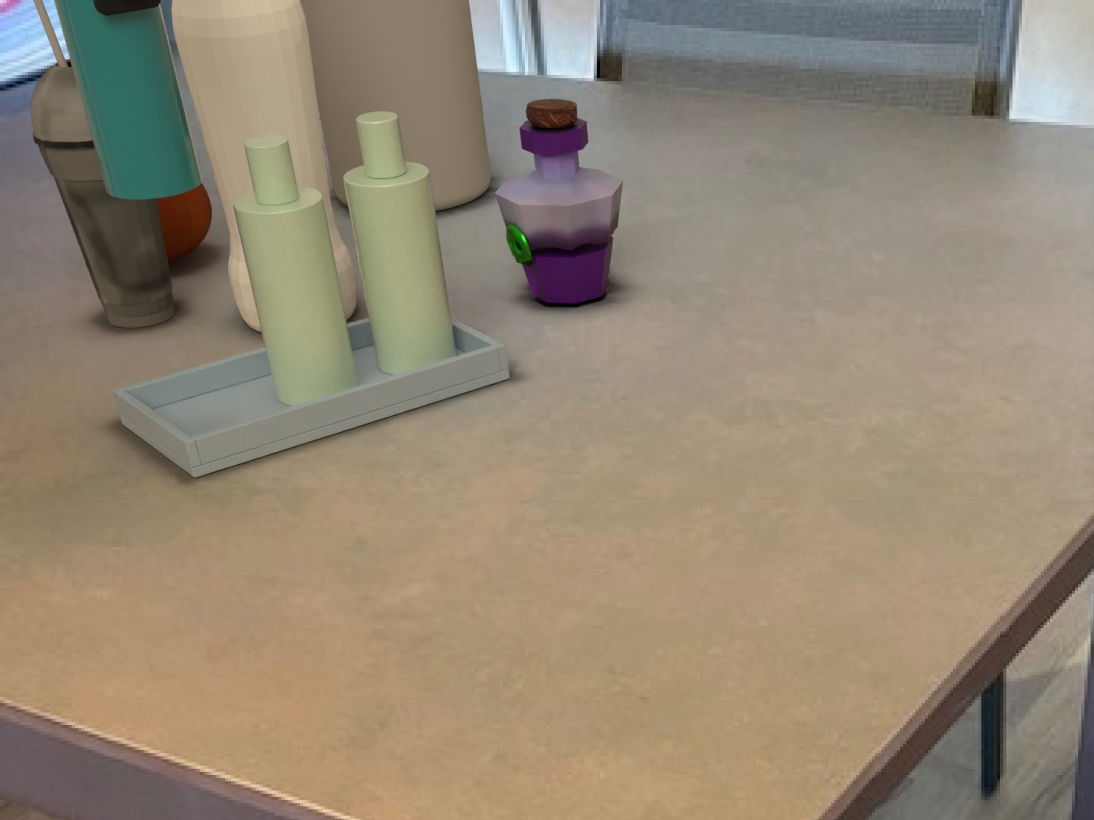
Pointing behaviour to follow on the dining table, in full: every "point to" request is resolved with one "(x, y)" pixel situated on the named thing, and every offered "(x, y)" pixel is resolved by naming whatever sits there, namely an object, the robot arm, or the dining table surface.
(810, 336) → the dining table surface
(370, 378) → the tray
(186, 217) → the fruit
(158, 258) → the beverage cup
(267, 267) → the bottle
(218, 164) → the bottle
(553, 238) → the potion bottle
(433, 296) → the bottle
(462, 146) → the cylinder vase
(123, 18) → the loose bottle
